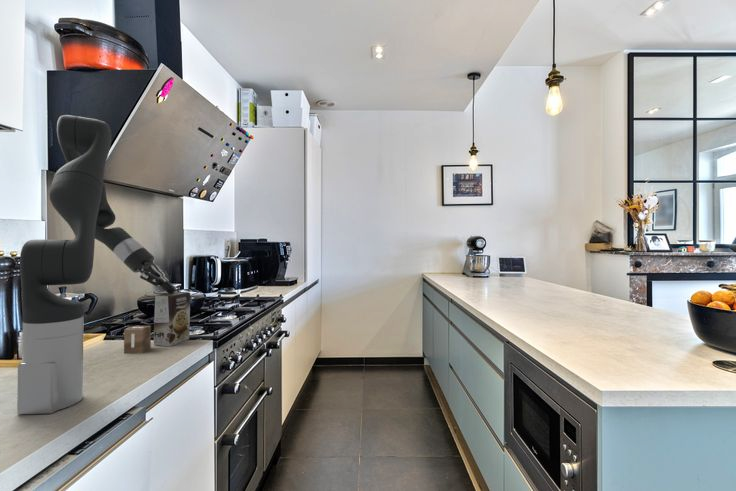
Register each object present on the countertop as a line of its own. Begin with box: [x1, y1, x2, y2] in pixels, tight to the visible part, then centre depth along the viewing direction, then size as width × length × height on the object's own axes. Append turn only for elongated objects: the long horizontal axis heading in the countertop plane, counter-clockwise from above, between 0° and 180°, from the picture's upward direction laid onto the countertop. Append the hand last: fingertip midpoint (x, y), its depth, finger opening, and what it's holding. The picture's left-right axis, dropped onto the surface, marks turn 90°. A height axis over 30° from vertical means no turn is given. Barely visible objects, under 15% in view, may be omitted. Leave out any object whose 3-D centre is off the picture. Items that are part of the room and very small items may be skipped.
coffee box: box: [153, 291, 191, 347], centre depth 116 cm, size 9×6×16 cm
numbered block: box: [123, 325, 152, 354], centre depth 107 cm, size 5×5×7 cm
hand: (173, 291), depth 116 cm, fingers closed
